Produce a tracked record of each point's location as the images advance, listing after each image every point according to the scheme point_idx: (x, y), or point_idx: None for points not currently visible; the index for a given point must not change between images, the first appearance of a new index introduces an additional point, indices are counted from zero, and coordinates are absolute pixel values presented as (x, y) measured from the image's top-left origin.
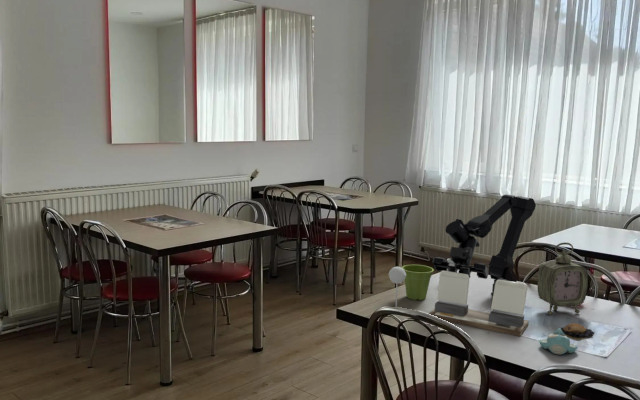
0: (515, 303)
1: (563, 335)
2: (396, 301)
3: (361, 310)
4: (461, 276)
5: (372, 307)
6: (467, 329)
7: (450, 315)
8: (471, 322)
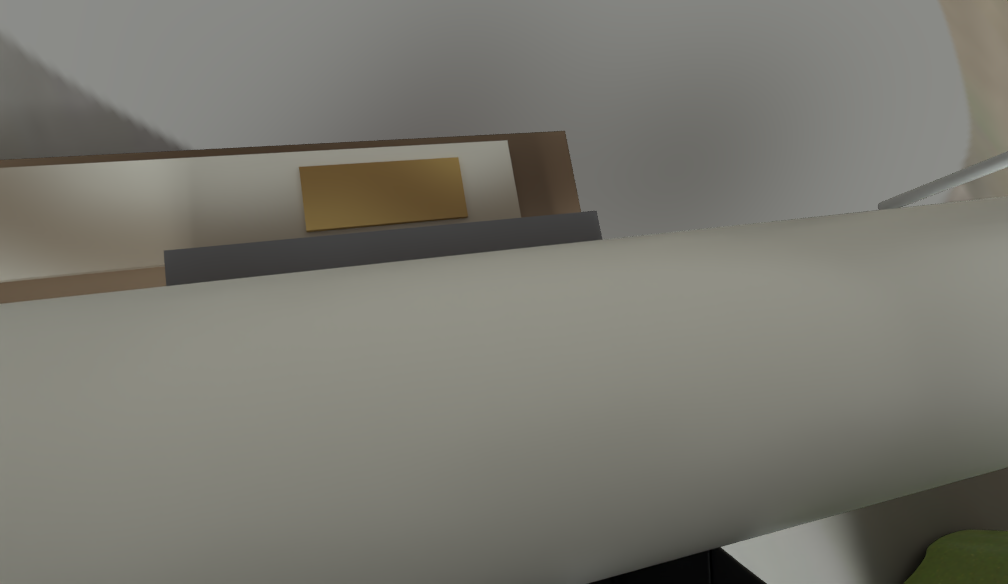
0: None
1: None
2: (939, 179)
3: (983, 3)
4: (103, 297)
5: (988, 106)
6: (52, 74)
7: (335, 182)
8: (18, 161)
